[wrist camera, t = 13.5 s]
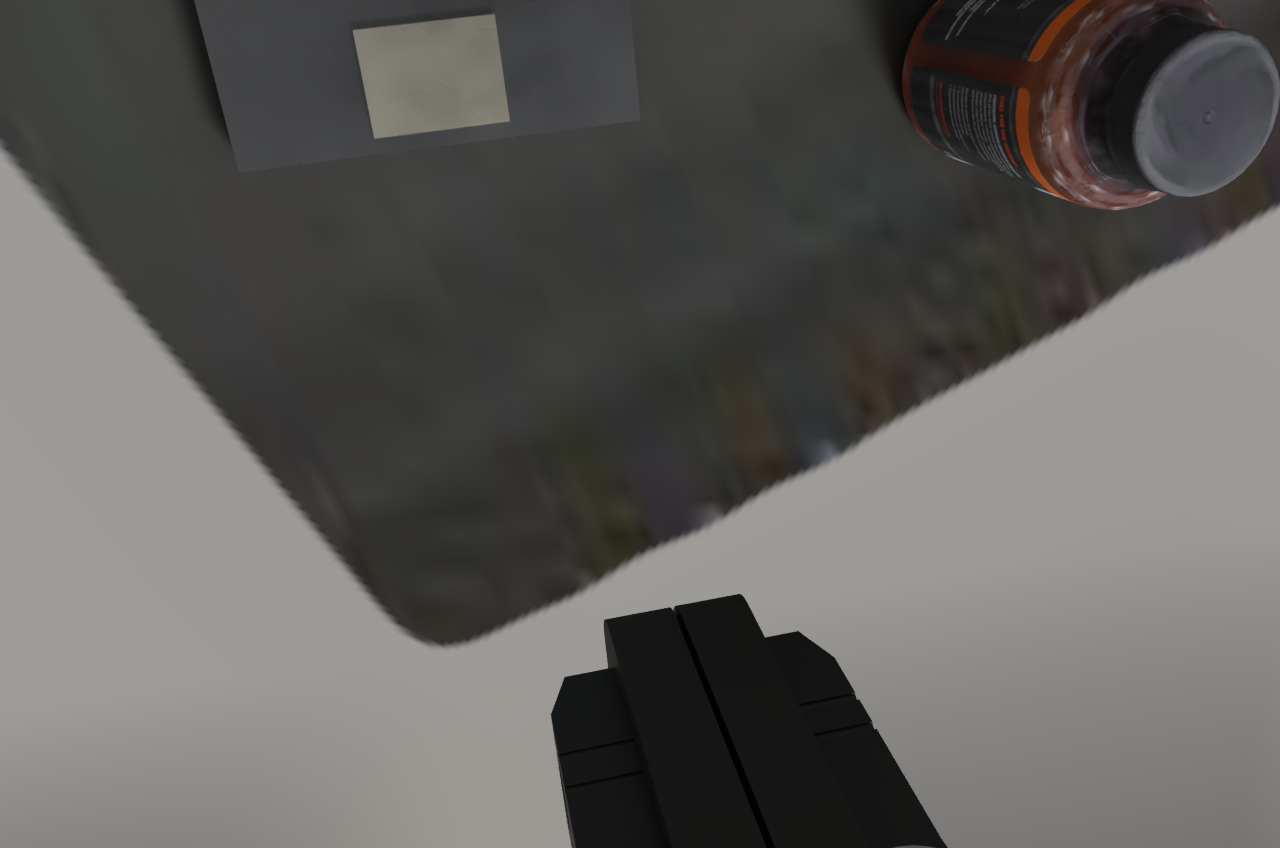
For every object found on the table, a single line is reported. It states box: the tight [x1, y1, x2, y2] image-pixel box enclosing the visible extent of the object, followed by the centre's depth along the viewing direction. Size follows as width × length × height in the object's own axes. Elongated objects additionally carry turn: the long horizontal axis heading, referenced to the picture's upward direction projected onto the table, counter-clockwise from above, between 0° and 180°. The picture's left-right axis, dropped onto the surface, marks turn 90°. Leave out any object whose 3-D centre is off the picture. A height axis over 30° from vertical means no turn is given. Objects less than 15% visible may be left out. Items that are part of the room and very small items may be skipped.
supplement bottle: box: [902, 0, 1280, 210], centre depth 30 cm, size 6×6×11 cm
